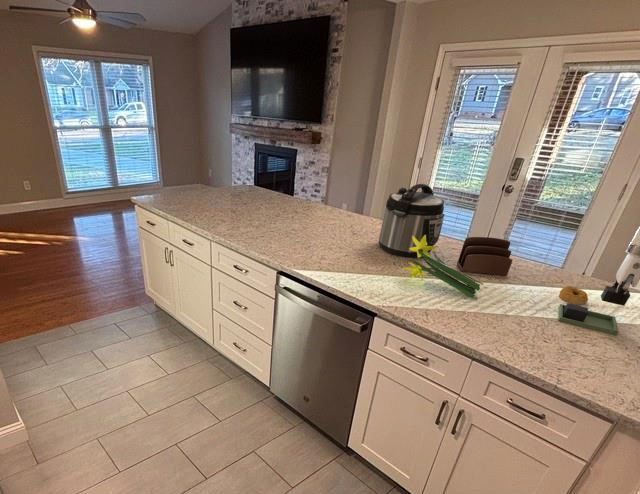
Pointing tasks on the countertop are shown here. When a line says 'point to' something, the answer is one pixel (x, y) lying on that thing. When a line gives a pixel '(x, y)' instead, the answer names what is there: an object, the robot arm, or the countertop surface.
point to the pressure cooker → (411, 220)
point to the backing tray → (592, 321)
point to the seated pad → (575, 312)
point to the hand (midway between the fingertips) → (612, 299)
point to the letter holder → (485, 256)
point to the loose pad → (609, 291)
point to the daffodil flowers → (417, 270)
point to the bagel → (573, 295)
